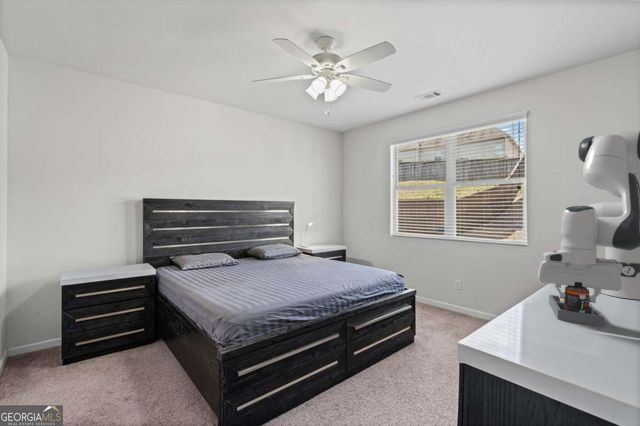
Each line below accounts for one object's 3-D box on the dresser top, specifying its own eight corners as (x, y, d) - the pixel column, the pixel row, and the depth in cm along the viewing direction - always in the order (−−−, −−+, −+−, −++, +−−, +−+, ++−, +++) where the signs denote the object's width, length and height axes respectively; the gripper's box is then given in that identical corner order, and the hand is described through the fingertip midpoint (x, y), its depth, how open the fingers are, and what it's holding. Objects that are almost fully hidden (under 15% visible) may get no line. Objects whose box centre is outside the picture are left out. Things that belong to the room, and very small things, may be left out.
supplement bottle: (589, 321, 91) (590, 284, 91) (564, 316, 95) (565, 281, 95) (587, 315, 96) (588, 280, 96) (563, 311, 100) (564, 277, 99)
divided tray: (548, 304, 111) (549, 294, 111) (586, 309, 106) (586, 299, 106) (557, 321, 94) (557, 309, 94) (603, 328, 88) (603, 316, 88)
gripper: (619, 258, 93) (618, 303, 93) (537, 252, 103) (536, 292, 103) (626, 261, 87) (625, 308, 87) (539, 255, 98) (538, 297, 98)
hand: (576, 300), depth 95 cm, fingers closed on supplement bottle, 6 cm apart
